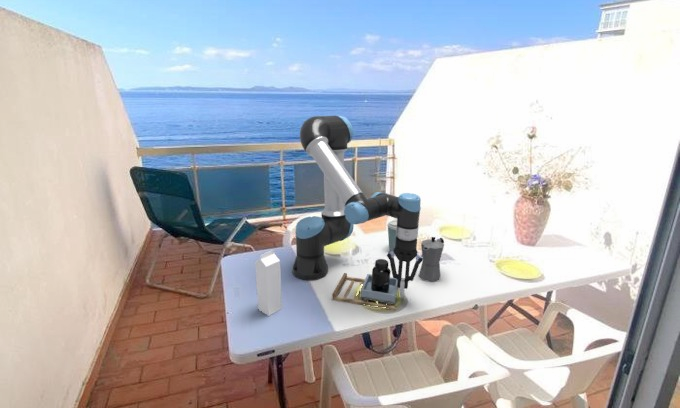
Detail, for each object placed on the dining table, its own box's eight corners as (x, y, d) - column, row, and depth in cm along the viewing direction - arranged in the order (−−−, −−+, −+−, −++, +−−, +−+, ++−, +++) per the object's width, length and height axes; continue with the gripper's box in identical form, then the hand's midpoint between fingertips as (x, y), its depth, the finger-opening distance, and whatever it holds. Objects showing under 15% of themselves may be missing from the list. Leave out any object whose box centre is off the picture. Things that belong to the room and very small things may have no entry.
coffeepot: (431, 286, 138) (435, 245, 133) (411, 278, 144) (414, 238, 139) (449, 273, 149) (454, 234, 143) (430, 266, 155) (434, 228, 150)
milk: (282, 308, 122) (280, 252, 116) (268, 316, 118) (266, 258, 111) (270, 302, 126) (268, 246, 119) (257, 309, 121) (254, 252, 115)
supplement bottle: (388, 296, 127) (390, 267, 123) (370, 294, 128) (371, 264, 125) (389, 286, 133) (391, 258, 130) (372, 284, 135) (373, 256, 131)
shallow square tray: (359, 301, 126) (360, 291, 125) (367, 282, 139) (367, 273, 138) (394, 307, 123) (394, 296, 122) (398, 287, 136) (399, 277, 135)
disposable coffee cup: (382, 247, 173) (383, 219, 169) (401, 245, 177) (403, 217, 172) (391, 256, 164) (393, 226, 159) (411, 253, 167) (414, 224, 162)
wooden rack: (332, 299, 128) (332, 294, 127) (344, 278, 143) (344, 273, 143) (394, 310, 122) (395, 304, 121) (400, 286, 137) (400, 281, 137)
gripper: (386, 238, 120) (382, 297, 127) (425, 243, 117) (418, 303, 124) (389, 231, 127) (385, 287, 134) (425, 235, 124) (419, 292, 131)
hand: (401, 295), depth 129 cm, fingers closed
